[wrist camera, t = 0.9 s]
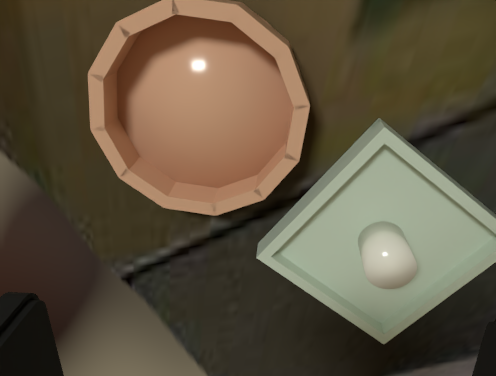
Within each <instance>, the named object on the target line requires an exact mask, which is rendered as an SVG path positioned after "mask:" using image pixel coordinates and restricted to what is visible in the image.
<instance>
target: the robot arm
mask: <svg viewBox="0 0 496 376" xmlns="http://www.w3.org/2000/svg"><path fill="white" fill-rule="evenodd" d="M0 376H64V375H63V371H62V367H61V363H60V359H59V356H58V351H57V348H56V344H55V340H54V336H53V332H52V328H51V324H50V320H49V316H48V313H47V308H46V305H45V303H44V302H43V301H40V300H39V298H38V296H37V295H36V294H33V293H17V292H8V293H5V294H4V295H2V296H1V297H0ZM472 376H496V320H495V322H489V323H488V324H487V327H486V330H485V333H484V337H483V340H482V343H481V347H480V350H479V354H478V357H477V361H476V364H475V368H474V371H473V374H472Z"/></svg>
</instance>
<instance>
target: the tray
mask: <svg viewBox="0 0 496 376" xmlns="http://www.w3.org/2000/svg"><path fill="white" fill-rule="evenodd" d="M381 221H385V222H391V223H394V224H396V225H397V226H399V227H400V228H401V229H402V231H403V233H404V235H405V237H406V240H407V242H408V244H409V246H410V249H411V251H412V253H413V256H414V258H415V260H416V263H417V271H416V274H415V276H414V278H413V279H412V280H411V281H410V282H409V283H407V284H406V285H404V286H402V287H399V288H395V289H383V288H379V287H376V286H374V285H373V284H372V283H370V282H369V281H368V279H367V277H366V275H365V271H364V267H363V263H362V259H361V255H360V251H359V247H358V237H359V235H360V233H361V232H362V230H363V229H364V228H365V227H367V226H368V225H370V224H372V223H375V222H381ZM256 258H257V259H259V260H260V261H262V262H263V263H265V264H266V265H268V266H269V267H271V268H272V269H274V270H275V271H277V272H278V273H280V274H281V275H282V276H284V277H285V278H287V279H288V280H290V281H291V282H293V283H294V284H296V285H297V286H299V287H300V288H302V289H303V290H305V291H306V292H307V293H309V294H310V295H312V296H313V297H315V298H316V299H318V300H319V301H321V302H322V303H324V304H325V305H327V306H328V307H330V308H331V309H332V310H334V311H335V312H337V313H338V314H340V315H341V316H343V317H344V318H346V319H347V320H349V321H350V322H352V323H353V324H355V325H356V326H357V327H359V328H360V329H362V330H363V331H365V332H366V333H368V334H369V335H371V336H372V337H374V338H375V339H377V340H378V341H380V342H381V343H382V344H385V343H387V342H388V341H389V340H391V339H392V338H393V337H395V336H396V335H397V334H399V333H400V332H401V331H403V330H404V329H405V328H407V327H408V326H410V325H411V324H412V323H414V322H415V321H416V320H418V319H419V318H420V317H422V316H423V315H424V314H426V313H427V312H429V311H430V310H431V309H433V308H434V307H435V306H437V305H438V304H439V303H441V302H442V301H443V300H445V299H446V298H448V297H449V296H450V295H452V294H453V293H454V292H456V291H457V290H458V289H460V288H461V287H462V286H464V285H465V284H466V283H468V282H469V281H471V280H472V279H473V278H475V277H476V276H477V275H479V274H480V273H481V272H483V271H484V270H485V269H487V268H488V267H490V266H491V265H492V264H494V263H495V262H496V214H494V213H493V212H492V211H491V210H489V209H488V208H487V207H486V206H485V205H483V204H482V203H481V202H480V201H479V200H477V199H476V198H475V197H474V196H473V195H471V194H470V193H469V192H468V191H467V190H465V189H464V188H463V187H462V186H461V185H459V184H458V183H457V182H456V181H455V180H453V179H452V178H451V177H450V176H449V175H447V174H446V173H445V172H444V171H443V170H441V169H440V168H439V167H438V166H437V165H435V164H434V163H433V162H432V161H430V160H429V159H428V158H427V157H426V156H424V155H423V154H422V153H421V152H420V151H418V150H417V149H416V148H415V147H414V146H412V145H411V144H410V143H409V142H408V141H406V140H405V139H404V138H403V137H402V136H400V135H399V134H398V133H397V132H396V131H394V130H393V129H392V128H391V127H390V126H388V125H387V124H386V123H385V122H384V121H382V120H381V119H380V118H378V119H377V120H376V121H375V122H374V123H373V124H372V125H371V126H370V128H369V129H368V130H367V131H366V132H365V133H364V134H363V135H362V136H361V137H360V138H359V139H358V140H357V141H356V142H355V143H354V144H353V145H352V146H351V147H350V148H349V149H348V150H347V151H346V152H345V154H344V155H343V156H342V157H341V158H340V159H339V160H338V161H337V162H336V163H335V164H334V165H333V166H332V167H331V168H330V169H329V170H328V171H327V172H326V173H325V174H324V175H323V176H322V177H321V178H320V179H319V181H318V182H317V183H316V184H315V185H314V186H313V187H312V188H311V189H310V190H309V191H308V192H307V193H306V194H305V195H304V196H303V197H302V198H301V199H300V200H299V201H298V202H297V203H296V204H295V205H294V207H293V208H292V209H291V210H290V211H289V212H288V213H287V214H286V215H285V216H284V217H283V218H282V219H281V220H280V221H279V222H278V223H277V224H276V225H275V226H274V227H273V228H272V229H271V230H270V231H269V232H268V234H267V235H266V236H265V237H264V238H263V239H262V240H261V241H260V242H259V243H258V249H257V257H256Z"/></svg>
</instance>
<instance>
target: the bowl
mask: <svg viewBox="0 0 496 376" xmlns="http://www.w3.org/2000/svg"><path fill="white" fill-rule="evenodd" d="M88 88H89V109H90V129H91V132H92V133H93V135H94V137H95V138H96V140H97V142H98V143H99V145H100V147H101V148H102V150H103V152H104V154H105V155H106V157H107V159H108V160H109V162H110V164H111V165H112V167H113V169H114V170H115V172H116V174H117V175H118V177H119V178H120V179H122V180H123V181H125V182H126V183H127V184H129V185H130V186H132V187H133V188H135V189H136V190H138V191H139V192H141V193H142V194H144V195H145V196H147V197H148V198H150V199H151V200H153V201H154V202H156V203H157V204H159V205H160V206H162V207H163V208H168V209H174V210H181V211H187V212H194V213H200V214H207V215H213V216H215V215H219V214H222V213H225V212H229V211H232V210H235V209H238V208H241V207H244V206H247V205H250V204H253V203H256V202H259V201H262V200H264V199H265V198H266V197H267V196H268V195H269V194H270V193H271V192H272V191H273V190H274V188H275V187H276V186H277V185H278V184H279V183H280V182H281V181H282V180H283V179H284V177H285V176H286V175H287V174H288V173H289V172H290V171H291V170H292V169H293V168H294V166H295V165H296V164H297V163H298V162H299V160H300V155H301V150H302V145H303V140H304V135H305V130H306V125H307V119H308V114H309V109H310V102H309V96H308V93H307V90H306V87H305V84H304V82H303V79H302V76H301V73H300V69H299V66H298V64H297V62H296V59H295V57H294V54H293V51H292V48H291V46H290V43H289V41H288V40H287V39H285V38H284V37H283V36H282V35H281V34H279V33H278V32H277V30H275V29H274V28H273V27H272V26H271V25H270V24H269V23H268V22H267V21H266V20H265V19H263V18H262V17H260V16H259V15H258V14H256V13H255V12H253V11H252V10H251V9H249V8H248V7H247V6H246V5H245V4H243V3H241V2H237V1H230V0H162V1H160V2H157V3H155V4H153V5H151V6H149V7H147V8H145V9H143V10H141V11H139V12H137V13H135V14H133V15H131V16H128V17H126V18H124V19H122V20H120V21H118V22H117V23H116V24H115V26H114V28H113V29H112V31H111V33H110V35H109V36H108V38H107V40H106V42H105V43H104V45H103V47H102V49H101V51H100V52H99V54H98V56H97V58H96V59H95V61H94V63H93V65H92V67H91V68H90V70H89V72H88Z"/></svg>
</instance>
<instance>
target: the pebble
mask: <svg viewBox="0 0 496 376" xmlns="http://www.w3.org/2000/svg"><path fill="white" fill-rule="evenodd" d="M358 247H359V251H360V255H361V259H362V263H363V267H364V271H365V275H366V277H367V279H368V281H369V282H370V283H372V284H373V285H374V286H376V287H379V288H383V289H395V288H399V287H402V286H404V285H406V284H407V283H409V282H410V281H411V280H412V279H413V278H414V276H415V274H416V271H417V263H416V260H415V258H414V256H413V253H412V251H411V249H410V246H409V244H408V242H407V240H406V237H405V235H404V233H403V231H402V229H401V228H400V227H399V226H397V225H396V224H394V223H391V222H385V221H381V222H375V223H372V224H370V225H368V226H367V227H365V228H364V229H363V230H362V232H361V233H360V235H359V237H358Z"/></svg>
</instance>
